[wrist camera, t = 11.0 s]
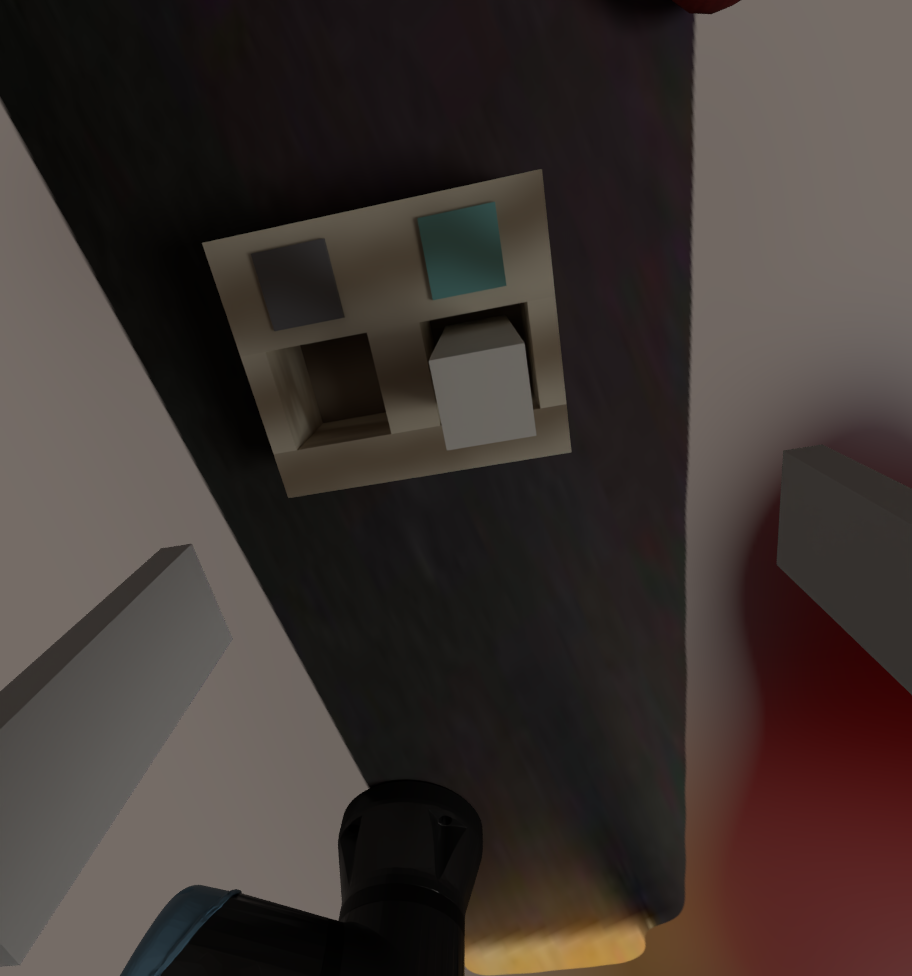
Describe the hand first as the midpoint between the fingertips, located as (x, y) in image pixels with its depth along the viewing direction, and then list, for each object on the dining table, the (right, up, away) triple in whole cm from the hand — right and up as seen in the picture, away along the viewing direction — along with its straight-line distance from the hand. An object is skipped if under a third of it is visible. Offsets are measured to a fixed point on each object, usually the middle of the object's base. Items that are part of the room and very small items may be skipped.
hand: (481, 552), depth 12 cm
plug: (+1, +11, +23) cm, 26 cm away
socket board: (-4, +12, +24) cm, 27 cm away
